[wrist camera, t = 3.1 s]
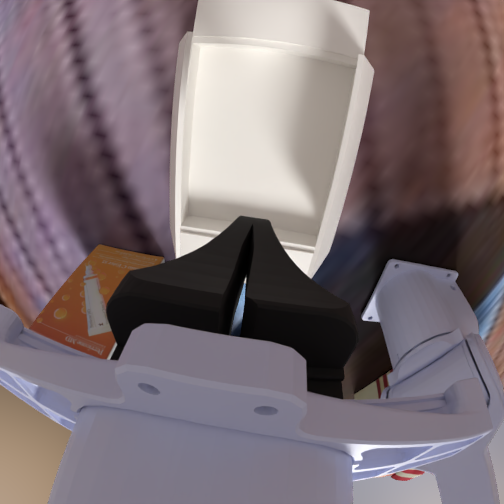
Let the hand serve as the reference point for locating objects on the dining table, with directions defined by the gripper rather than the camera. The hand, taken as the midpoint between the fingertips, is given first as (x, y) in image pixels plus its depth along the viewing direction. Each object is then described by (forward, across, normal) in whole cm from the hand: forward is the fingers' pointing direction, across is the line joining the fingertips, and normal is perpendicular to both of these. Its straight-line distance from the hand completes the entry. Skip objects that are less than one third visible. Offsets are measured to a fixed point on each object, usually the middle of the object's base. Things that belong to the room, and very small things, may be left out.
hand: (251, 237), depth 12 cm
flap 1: (+6, +5, -2) cm, 8 cm away
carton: (+10, 0, -2) cm, 11 cm away
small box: (+11, +12, +13) cm, 21 cm away
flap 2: (+6, -5, -2) cm, 8 cm away
